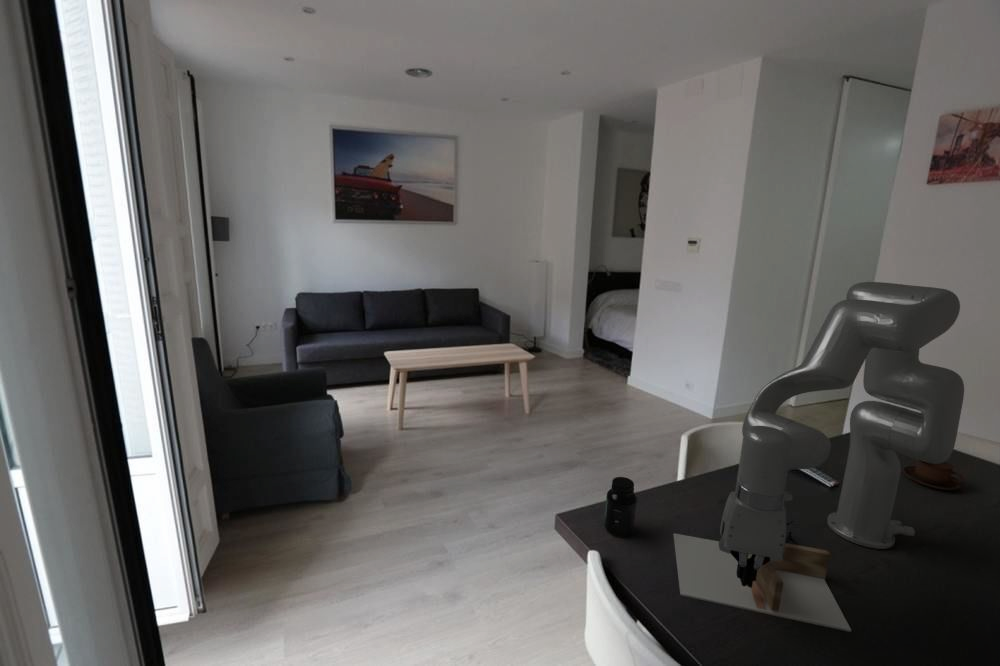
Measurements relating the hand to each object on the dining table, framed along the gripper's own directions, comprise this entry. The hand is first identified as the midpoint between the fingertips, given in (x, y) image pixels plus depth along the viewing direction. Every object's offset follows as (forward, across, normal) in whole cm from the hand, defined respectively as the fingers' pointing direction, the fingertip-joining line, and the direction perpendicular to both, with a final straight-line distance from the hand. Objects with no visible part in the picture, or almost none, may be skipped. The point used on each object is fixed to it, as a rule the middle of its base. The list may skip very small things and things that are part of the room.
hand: (745, 581), depth 89 cm
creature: (+4, -11, -19) cm, 22 cm away
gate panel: (+2, -4, -3) cm, 5 cm away
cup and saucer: (+4, -61, -62) cm, 87 cm away
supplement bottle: (+3, +23, -14) cm, 28 cm away
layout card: (+3, -3, -6) cm, 7 cm away
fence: (+3, -9, -10) cm, 14 cm away
